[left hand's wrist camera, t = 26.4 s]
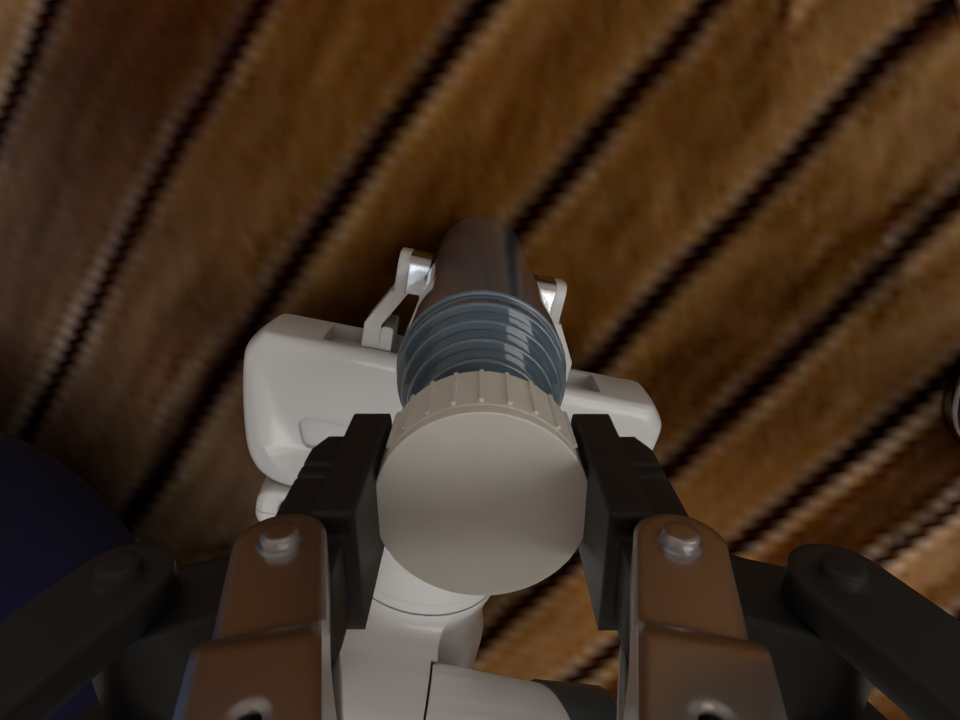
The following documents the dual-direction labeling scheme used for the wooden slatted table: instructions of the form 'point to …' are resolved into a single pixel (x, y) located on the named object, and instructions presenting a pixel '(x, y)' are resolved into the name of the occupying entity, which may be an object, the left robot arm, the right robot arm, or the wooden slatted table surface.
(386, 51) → the wooden slatted table surface
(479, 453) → the cap
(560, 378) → the bottle
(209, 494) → the wooden slatted table surface
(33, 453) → the globe
